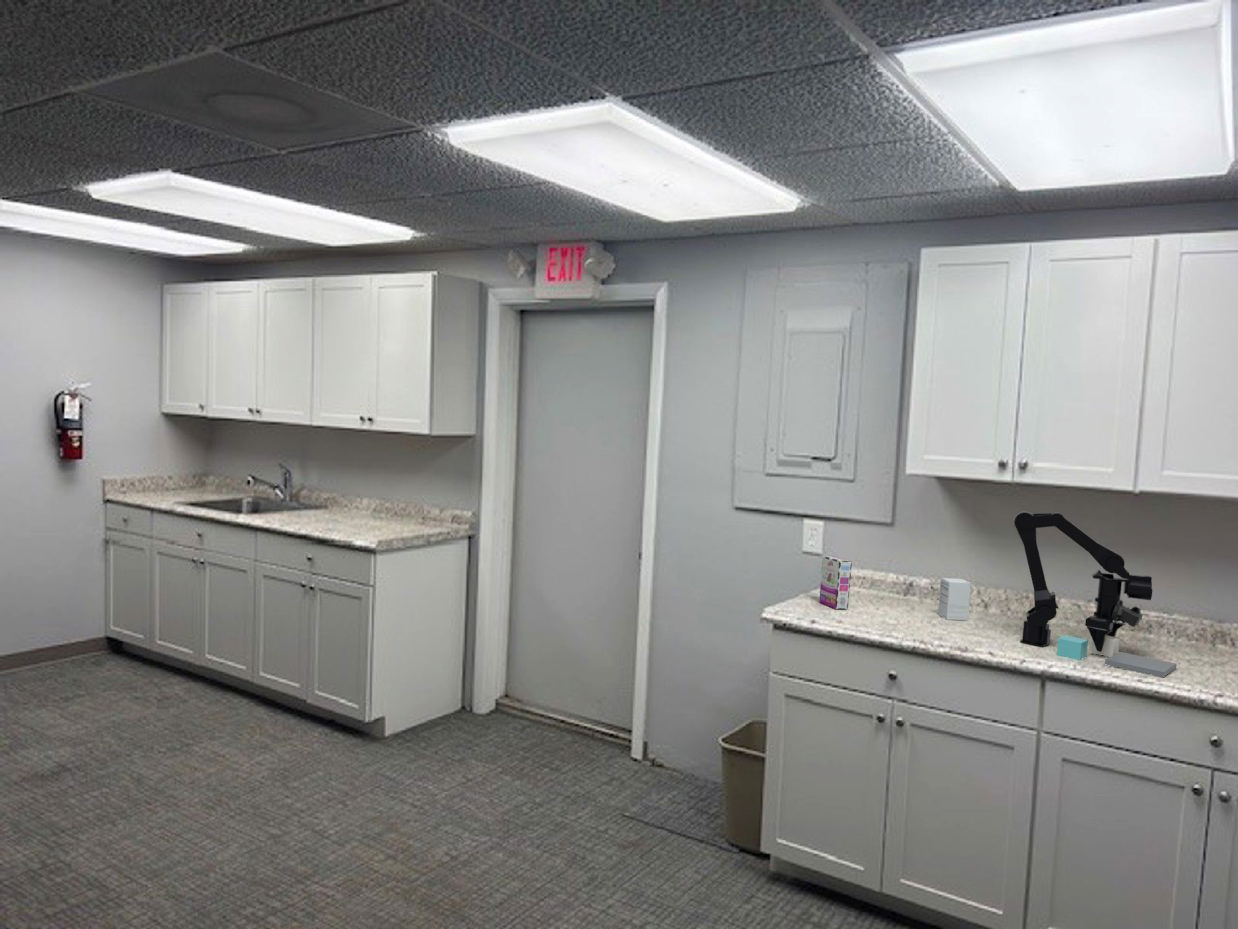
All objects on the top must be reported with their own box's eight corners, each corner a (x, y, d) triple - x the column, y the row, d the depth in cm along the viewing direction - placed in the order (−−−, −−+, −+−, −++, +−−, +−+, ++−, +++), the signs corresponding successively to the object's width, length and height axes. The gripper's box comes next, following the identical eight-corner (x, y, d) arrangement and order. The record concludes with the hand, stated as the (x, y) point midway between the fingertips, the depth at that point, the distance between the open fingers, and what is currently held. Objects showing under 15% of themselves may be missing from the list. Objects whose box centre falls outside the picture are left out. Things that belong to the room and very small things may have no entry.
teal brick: (1056, 655, 248) (1058, 638, 248) (1063, 652, 253) (1065, 635, 252) (1079, 661, 244) (1081, 643, 244) (1086, 657, 248) (1088, 640, 248)
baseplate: (1104, 665, 241) (1105, 659, 241) (1119, 657, 251) (1119, 651, 251) (1163, 677, 231) (1163, 672, 231) (1176, 669, 241) (1176, 663, 241)
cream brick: (1089, 653, 253) (1090, 636, 253) (1095, 650, 258) (1097, 633, 257) (1112, 658, 249) (1113, 641, 249) (1118, 655, 254) (1119, 637, 253)
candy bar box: (849, 610, 293) (852, 561, 292) (835, 610, 291) (839, 561, 290) (831, 602, 303) (834, 555, 302) (818, 602, 302) (822, 555, 301)
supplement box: (958, 616, 294) (962, 578, 293) (968, 621, 287) (971, 582, 286) (937, 614, 294) (940, 577, 293) (946, 620, 286) (949, 581, 286)
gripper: (1131, 604, 240) (1126, 661, 241) (1149, 597, 254) (1144, 650, 255) (1087, 597, 248) (1082, 651, 249) (1106, 590, 261) (1102, 642, 262)
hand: (1104, 649), depth 253 cm, fingers open, 9 cm apart
